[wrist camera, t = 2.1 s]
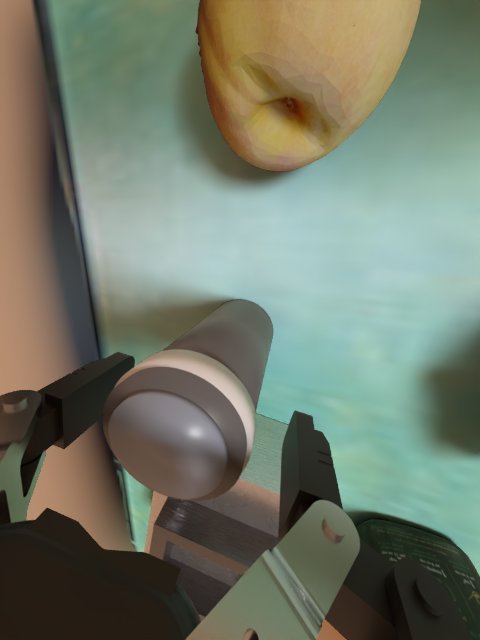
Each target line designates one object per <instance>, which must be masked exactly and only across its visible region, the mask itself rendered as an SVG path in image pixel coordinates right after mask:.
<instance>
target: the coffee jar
mask: <svg viewBox="0 0 480 640" xmlns="http://www.w3.org/2000/svg"><path fill="white" fill-rule="evenodd" d="M356 529H357V532H358V535H359V537H360V538H361V539H362V540H363V541H364V542H365V543H366V544H368V545H369V546H370V547H371V548H373V549H374V550H375V551H377V552H378V553H380V554H381V555H382V556H384V557H385V558H386V559H388V560H389V561H390V562H392V563H393V564H394V565H395V564H396V562H397V561H398V560H400V559H403V558H407V559H411V560H414V561H416V562H418V563H419V564H421V565H422V566H424V567H425V568H426V569H428V570H429V571H430V572H431V573H432V574H433V575H434V576H435V577H436V578H437V579H438V580H439V581H440V582H441V583H442V584H443V586H444V587H445V588H446V590H447V591H448V592H449V594H450V595H451V597H452V598H453V600H454V602H455V603H456V605H457V607H458V609H459V611H460V613H461V615H462V618H463V620H464V622H465V624H466V627H467V629H468V631H469V634H470V636H471V638H472V640H480V576H479V574H478V573H477V571H476V569H475V567H474V565H473V564H472V562H471V560H470V559H469V557H468V556H467V555H466V554H465V553H464V552H463V551H462V550H461V549H460V548H459V547H458V546H456V545H455V544H453V543H452V542H450V541H448V540H445V539H443V538H441V537H438V536H436V535H433V534H431V533H428V532H425V531H422V530H419V529H415V528H412V527H408V526H405V525H401V524H398V523H393V522H389V521H384V520H378V519H373V520H368V521H366V522H364V523H361V524H359V525H357V526H356Z"/></svg>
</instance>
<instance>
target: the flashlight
mask: <svg viewBox="0 0 480 640" xmlns="http://www.w3.org/2000/svg"><path fill="white" fill-rule="evenodd" d="M272 338H273V325H272V322H271V319H270V317H269V316H268V314H267V313H266V311H265V310H264V309H263V308H262V307H260V306H259V305H257V304H256V303H254V302H251V301H248V300H242V299H237V300H231V301H228V302H226V303H224V304H223V305H221V306H220V307H219V308H217V309H216V310H215V311H213V312H212V313H211V314H210V315H208V316H207V317H206V318H204V319H203V320H202V321H200V322H199V323H198V324H197V325H195V326H194V327H193V328H191V329H190V330H189V331H187V332H186V333H185V334H184V335H182V336H181V337H180V338H178V339H177V340H176V341H174V342H173V343H172V344H171V345H169V346H168V347H167V348H165V349H164V350H163V351H161V352H157V353H155V354H153V355H151V356H149V357H147V358H146V359H145V360H143V361H142V362H140V363H139V364H138V365H136V366H135V367H134V368H132V369H131V370H129V371H128V372H127V373H125V374H124V375H123V376H122V377H121V378H120V379H119V381H118V382H117V384H116V385H115V387H114V389H113V390H112V391H111V393H110V394H109V395H108V397H107V399H106V402H105V404H104V408H103V415H102V417H103V418H102V419H103V428H104V433H105V436H106V439H107V441H108V444H109V446H110V448H111V450H112V452H113V453H114V455H115V456H116V458H117V459H118V461H119V462H120V463H121V465H122V466H123V467H124V468H125V469H126V471H127V472H128V473H129V474H130V475H131V476H132V477H134V478H135V479H136V480H137V481H139V482H140V483H141V484H143V485H144V486H146V487H148V488H149V489H151V490H153V491H155V492H157V493H160V494H162V495H165V496H169V497H173V498H176V499H181V500H189V501H202V500H209V499H212V498H216V497H218V496H220V495H222V494H224V493H226V492H227V491H229V490H230V489H231V488H232V487H233V486H234V485H235V483H236V482H237V481H238V479H239V477H240V475H241V473H242V472H243V471H244V469H245V468H246V466H247V464H248V461H249V459H250V455H251V450H252V446H253V441H254V436H255V431H256V408H257V404H258V399H259V395H260V390H261V386H262V382H263V377H264V373H265V369H266V364H267V360H268V356H269V351H270V347H271V342H272Z"/></svg>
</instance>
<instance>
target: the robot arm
mask: <svg viewBox="0 0 480 640" xmlns="http://www.w3.org/2000/svg"><path fill="white" fill-rule="evenodd" d="M134 363H135V359H134V357H132V356H129V355H126V354H123V353H120V352H117V353H115V354H113V355H111V356H109V357H107V358H106V359H105V358H103V359H100V360H96V361H93V362H91V363H89V364H87V365H85V366H83V367H81V369H77V370H75V371H74V372H72V374H71V373H70V374H68V375H66V376H65V377H63V378H61V379H59V380H57V381H55V382H53V383H51V384H50V385H48V386H46V387H44V388H42V389H40V390H38V391H33V390H19V391H13V392H9V393H6V394H4V395H1V396H0V640H316V638H317V636H318V634H319V632H320V630H321V627H322V623H323V620H324V619H326V620H327V621H328V622H329V623H330V624H331V625H332V626H333V627H334V628H335V629H336V630H337V631H338V632H339V633H340V634H341V635H342V636H344V637H345V638H346V639H347V640H472V638H471V636H470V634H469V631H468V629H467V627H466V624H465V622H464V620H463V618H462V615H461V613H460V611H459V609H458V607H457V605H456V603H455V602H454V600H453V598H452V597H451V595H450V594H449V592H448V591H447V590H446V588H445V587H444V586H443V584H442V583H441V582H440V581H439V580H438V579H437V578H436V577H435V576H434V575H433V574H432V573H431V572H430V571H429V570H428V569H426V568H425V567H424V566H422V565H421V564H419V563H418V562H416V561H414V560H411V559H407V558H403V559H400V560H398V561H397V562H396V564H395V565H394V564H393V563H392V562H390V561H389V560H388V559H386V558H385V557H384V556H382V555H381V554H380V553H378V552H377V551H375V550H374V549H373V548H371V547H370V546H369V545H368V544H366V543H365V542H364V541H363V540H362V539H361V538H360V537H359V535H358V532H357V529H356V527H355V525H354V524H353V522H352V520H351V519H350V517H349V516H348V515H347V514H346V513H345V512H344V511H343V508H342V503H341V498H340V493H339V489H338V484H337V479H336V474H335V469H334V467H333V460H332V457H331V450H330V446H329V443H328V441H327V439H326V438H325V436H324V434H323V433H322V432H320V431H317V430H314V424H313V417H312V416H311V415H308V414H305V413H301V412H298V411H294V413H293V415H292V418H291V421H290V423H289V426H288V429H287V431H286V434H285V437H284V441H283V445H282V456H281V481H280V506H279V531H278V538H279V539H282V540H281V541H280V542H279V543H278V544H277V545H276V547H275V548H274V549H272V550H271V549H268V550H266V551H265V552H264V553H263V554H262V555H261V556H260V557H259V558H258V559H257V560H256V562H255V563H254V564H253V565H252V566H251V567H250V568H249V569H248V570H247V572H246V573H245V574H244V575H243V576H242V577H241V578H240V579H239V580H238V582H237V583H236V584H235V585H234V586H233V587H232V588H231V589H230V590H229V592H228V593H227V594H226V595H225V596H224V597H223V598H222V599H221V600H220V602H219V603H218V604H217V605H216V606H215V607H214V608H213V609H212V610H211V612H210V613H209V614H208V615H207V616H206V617H205V618H204V619H203V620H202V622H201V620H200V617H199V615H198V612H197V610H196V608H195V606H194V604H193V602H192V600H191V599H190V598H189V596H188V595H187V593H186V592H185V590H184V589H183V588H182V587H181V586H180V585H179V584H178V580H179V576H180V571H181V568H179V567H177V566H175V565H172V564H170V563H168V562H166V561H164V560H161V559H159V558H157V557H155V556H152V555H150V554H148V553H146V552H131V551H116V550H106V549H103V548H101V547H100V546H99V545H98V544H97V542H96V541H95V540H94V539H93V538H92V537H91V536H90V535H89V534H88V532H86V530H85V529H84V528H83V527H82V526H81V525H80V524H79V522H77V521H75V520H73V519H71V518H69V517H66V516H64V515H62V514H60V513H58V512H56V511H53V510H51V509H49V508H46V509H45V510H44V511H43V512H42V513H41V515H40V516H39V517H38V518H37V519H36V520H28V521H26V518H27V510H28V506H29V503H30V500H31V497H32V494H33V491H34V488H35V485H36V482H37V480H38V477H39V474H40V471H41V468H42V465H43V462H44V459H45V456H46V450H47V449H48V448H49V447H50V446H52V445H55V446H58V447H60V448H62V449H65V448H66V447H67V446H69V445H70V444H71V443H72V442H73V441H74V440H75V439H77V438H78V437H79V436H80V435H81V434H82V433H84V432H85V431H86V430H87V429H88V428H89V427H91V426H92V425H93V424H94V423H95V422H96V421H98V420H99V419H100V418H101V417H102V415H103V408H104V404H105V402H106V399H107V397H108V395H109V394H110V393H111V391H112V390H113V389H114V387H115V385H116V384H117V382H118V381H119V379H120V378H121V377H122V376H123V375H124V374H125V373H127V372H128V371H129V370H131V369H132V368H134Z"/></svg>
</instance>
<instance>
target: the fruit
mask: <svg viewBox="0 0 480 640" xmlns="http://www.w3.org/2000/svg"><path fill="white" fill-rule="evenodd" d="M420 4H421V0H200V3H199V9H198V22H197V27H196V33H197V34H198V41H199V42H198V45H199V46H200V52H199V55H200V56H201V58H202V59H201V66H202V72H203V75H204V82H205V87H206V94H207V99H208V102H209V105H210V108H211V112H212V114H213V117H214V119H215V121H216V123H217V125H218V128H219V130H220V131H221V133H222V135H223V137H224V139H225V141H226V142H227V144H228V145H229V146H230V148H231V149H232V150H233V151H234V152H235V153H236V154H237V155H238V156H239V157H240V158H242V159H243V160H245V161H246V162H248V163H250V164H252V165H254V166H256V167H259V168H262V169H265V170H272V171H290V170H294V169H297V168H300V167H303V166H305V165H308V164H310V163H312V162H314V161H316V160H318V159H320V158H322V157H324V156H326V155H327V154H329V153H330V152H331V151H333V150H334V149H335V148H337V147H338V146H339V145H340V144H341V143H342V142H344V141H345V140H346V139H347V138H348V137H349V136H350V135H351V134H352V133H353V132H355V130H356V129H357V128H358V127H359V126H360V125H361V124H362V123H363V122H364V121H365V119H366V118H367V117H368V116H369V115H370V114H371V112H372V111H373V110H374V109H375V107H376V106H377V105H378V103H379V102H380V100H381V99H382V97H383V96H384V94H385V93H386V91H387V90H388V88H389V87H390V85H391V84H392V82H393V80H394V78H395V76H396V74H397V72H398V70H399V68H400V66H401V63H402V61H403V59H404V56H405V54H406V51H407V49H408V47H409V44H410V41H411V38H412V35H413V32H414V29H415V25H416V21H417V17H418V14H419V9H420Z"/></svg>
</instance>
